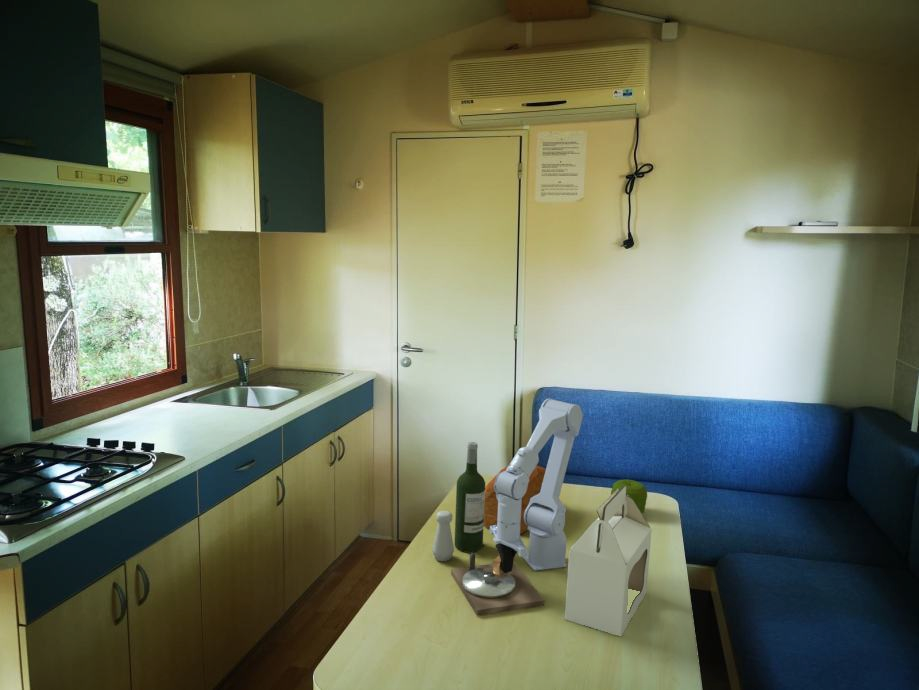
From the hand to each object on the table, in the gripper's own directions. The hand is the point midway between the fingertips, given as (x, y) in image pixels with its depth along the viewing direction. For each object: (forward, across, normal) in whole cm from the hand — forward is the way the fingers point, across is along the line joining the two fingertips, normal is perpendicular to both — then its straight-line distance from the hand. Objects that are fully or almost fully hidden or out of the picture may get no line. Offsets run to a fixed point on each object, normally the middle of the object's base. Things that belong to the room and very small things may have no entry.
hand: (506, 571), depth 175 cm
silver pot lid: (+2, 0, -5) cm, 5 cm away
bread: (+4, -34, +26) cm, 43 cm away
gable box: (+4, +19, +16) cm, 25 cm away
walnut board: (+3, +1, -4) cm, 5 cm away
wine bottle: (+4, -22, +2) cm, 23 cm away
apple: (+3, -22, +59) cm, 63 cm away
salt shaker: (+4, -19, -8) cm, 21 cm away
